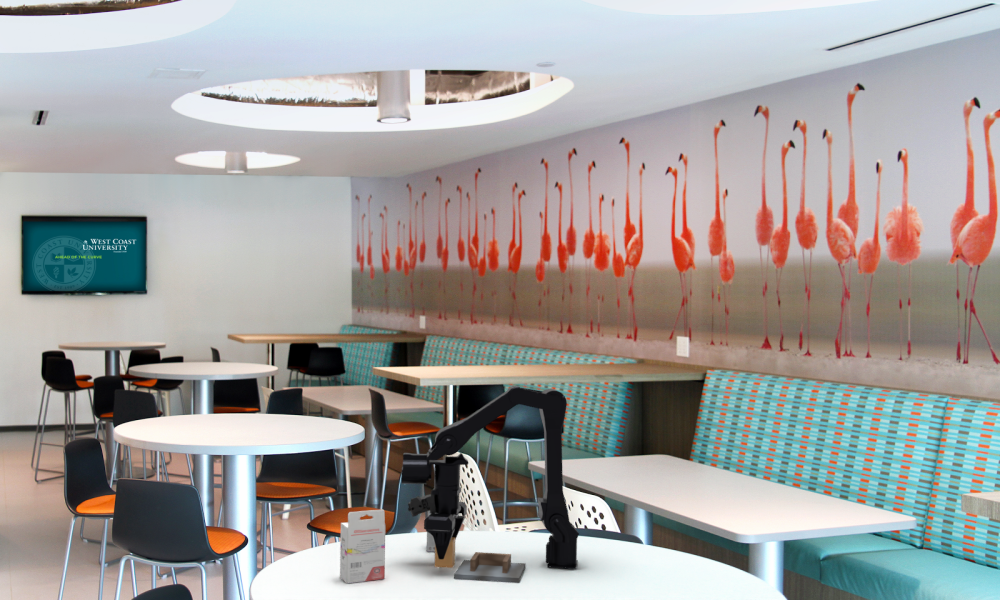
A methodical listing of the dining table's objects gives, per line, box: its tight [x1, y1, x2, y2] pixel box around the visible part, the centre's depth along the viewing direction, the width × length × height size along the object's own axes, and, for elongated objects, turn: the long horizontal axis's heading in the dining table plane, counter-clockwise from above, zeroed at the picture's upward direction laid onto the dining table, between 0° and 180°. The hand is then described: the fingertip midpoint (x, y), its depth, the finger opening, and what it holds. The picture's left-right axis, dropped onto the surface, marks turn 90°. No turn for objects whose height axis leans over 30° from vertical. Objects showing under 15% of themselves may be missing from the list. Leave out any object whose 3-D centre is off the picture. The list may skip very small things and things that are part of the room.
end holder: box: [453, 551, 527, 584], centre depth 196 cm, size 14×12×4 cm
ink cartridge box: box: [339, 509, 386, 584], centre depth 190 cm, size 9×5×15 cm, turn 117°
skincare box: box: [426, 510, 435, 553], centre depth 217 cm, size 6×4×12 cm
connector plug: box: [434, 538, 456, 569], centre depth 202 cm, size 4×3×8 cm
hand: (445, 553), depth 202 cm, fingers open, 9 cm apart
